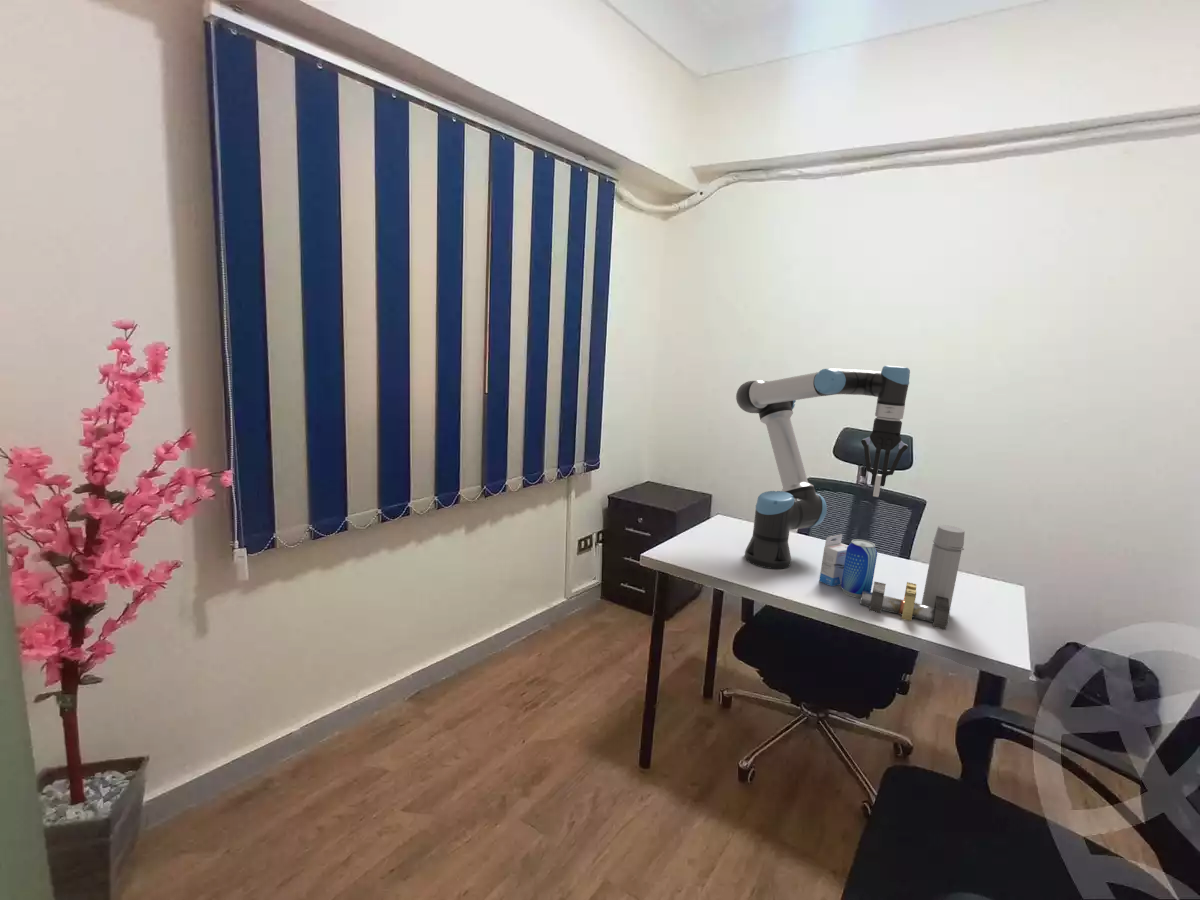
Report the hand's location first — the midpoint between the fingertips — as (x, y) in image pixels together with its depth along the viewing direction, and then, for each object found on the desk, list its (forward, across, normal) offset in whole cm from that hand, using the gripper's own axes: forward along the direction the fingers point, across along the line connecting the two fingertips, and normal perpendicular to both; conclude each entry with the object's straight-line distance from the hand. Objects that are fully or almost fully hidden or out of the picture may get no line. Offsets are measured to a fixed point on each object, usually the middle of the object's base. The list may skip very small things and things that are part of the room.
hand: (875, 495), depth 181 cm
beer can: (+30, -1, -6) cm, 30 cm away
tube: (+29, +12, -13) cm, 34 cm away
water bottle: (+30, +21, -4) cm, 37 cm away
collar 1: (+30, +5, -13) cm, 33 cm away
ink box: (+30, -8, -2) cm, 31 cm away
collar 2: (+30, +21, -13) cm, 39 cm away
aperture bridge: (+30, +13, -13) cm, 35 cm away
